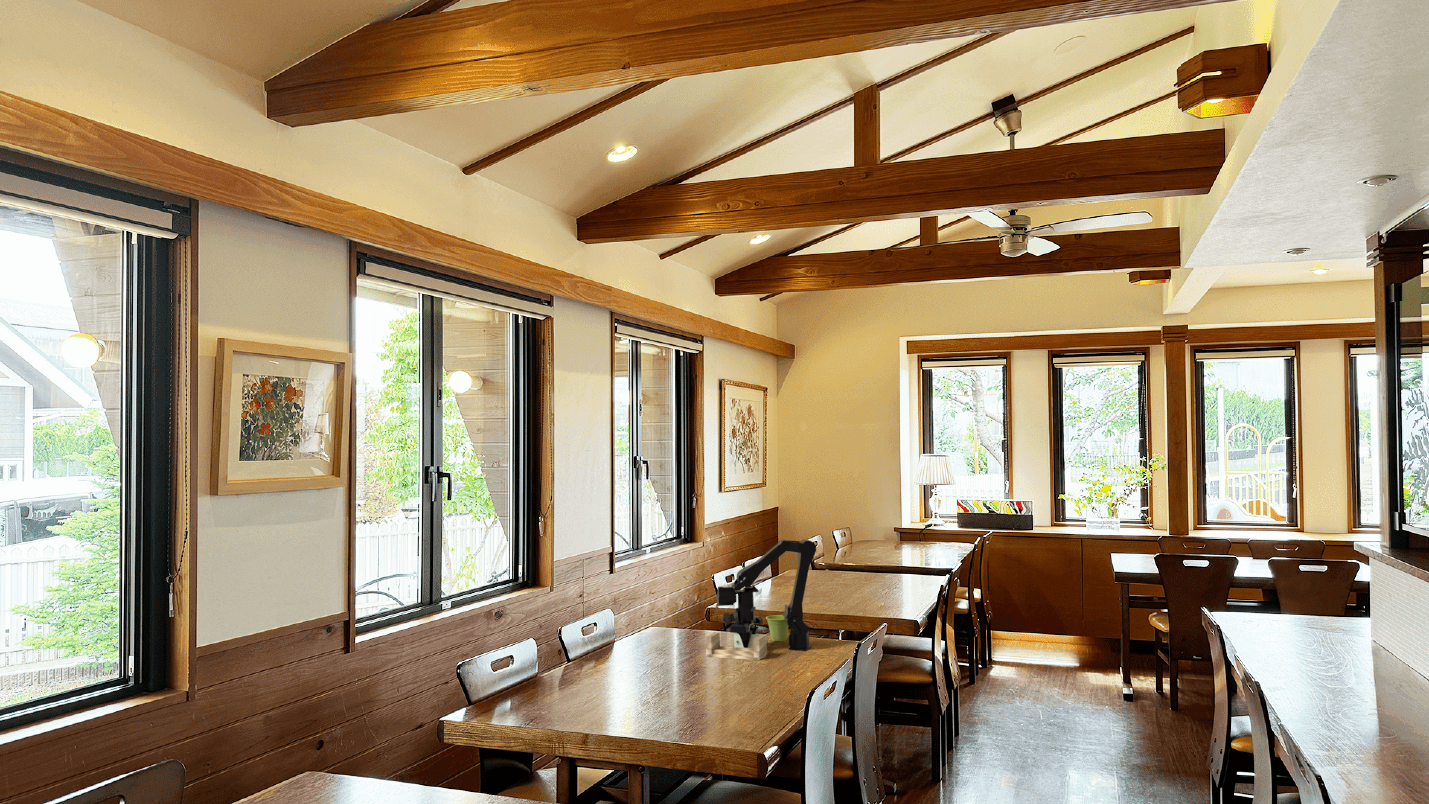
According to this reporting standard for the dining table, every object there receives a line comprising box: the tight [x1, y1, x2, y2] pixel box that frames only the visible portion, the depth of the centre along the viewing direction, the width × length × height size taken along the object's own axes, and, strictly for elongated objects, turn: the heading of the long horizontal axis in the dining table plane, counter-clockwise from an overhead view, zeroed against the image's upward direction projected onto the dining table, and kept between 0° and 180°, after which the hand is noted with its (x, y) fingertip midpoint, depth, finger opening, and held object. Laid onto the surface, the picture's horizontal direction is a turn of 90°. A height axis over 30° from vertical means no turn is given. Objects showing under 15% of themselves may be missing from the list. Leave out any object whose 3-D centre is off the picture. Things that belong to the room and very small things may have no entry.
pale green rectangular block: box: [733, 633, 761, 648], centre depth 325 cm, size 9×3×6 cm, turn 67°
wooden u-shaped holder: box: [705, 631, 768, 661], centre depth 319 cm, size 20×8×7 cm, turn 67°
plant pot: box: [765, 614, 789, 642], centre depth 343 cm, size 9×9×9 cm
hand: (747, 648), depth 326 cm, fingers closed on pale green rectangular block, 2 cm apart
